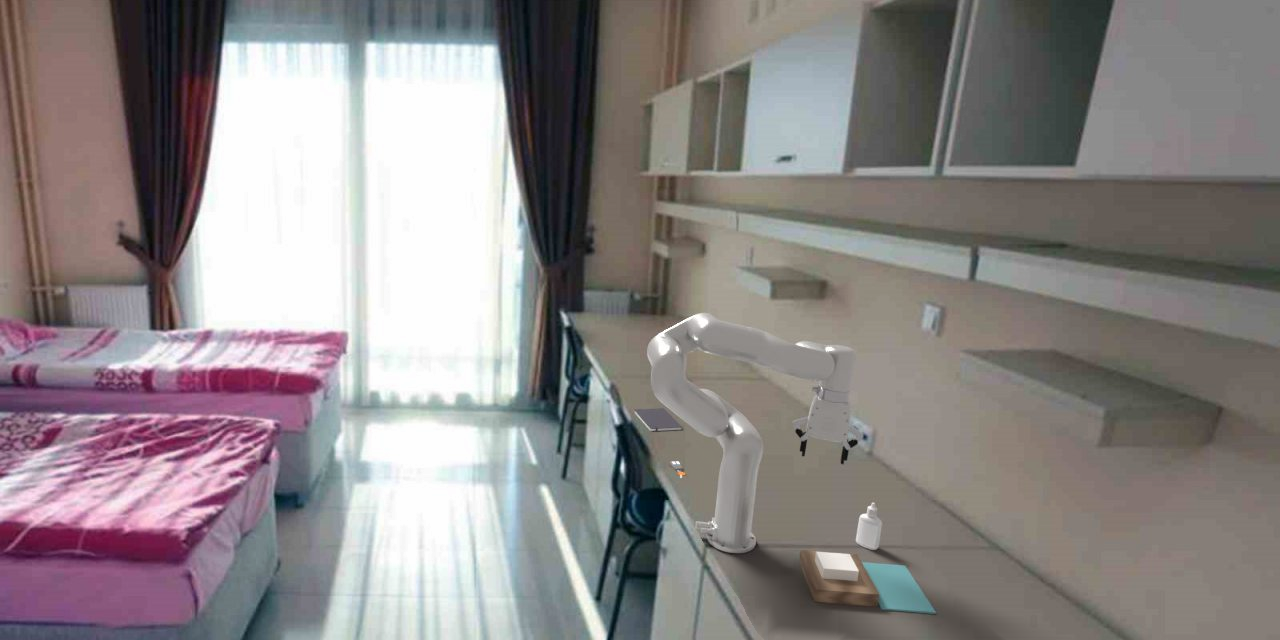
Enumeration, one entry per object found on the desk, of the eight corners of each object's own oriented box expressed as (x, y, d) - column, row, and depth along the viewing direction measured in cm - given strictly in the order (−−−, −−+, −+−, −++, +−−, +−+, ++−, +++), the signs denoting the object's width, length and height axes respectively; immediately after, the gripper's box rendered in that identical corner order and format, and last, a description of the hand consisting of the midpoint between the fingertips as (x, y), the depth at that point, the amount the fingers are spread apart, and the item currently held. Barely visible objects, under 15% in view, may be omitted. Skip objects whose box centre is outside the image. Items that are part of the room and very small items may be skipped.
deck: (814, 601, 142) (816, 589, 142) (798, 560, 158) (800, 549, 157) (877, 606, 142) (879, 594, 141) (855, 565, 158) (857, 554, 157)
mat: (881, 609, 141) (881, 607, 141) (856, 563, 159) (856, 561, 159) (935, 613, 141) (936, 612, 141) (904, 567, 158) (905, 565, 158)
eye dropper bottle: (866, 552, 164) (873, 509, 162) (853, 540, 169) (859, 498, 167) (880, 550, 166) (887, 507, 163) (866, 538, 171) (873, 497, 168)
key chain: (668, 464, 209) (668, 460, 209) (678, 464, 210) (679, 459, 210) (680, 482, 197) (680, 477, 197) (691, 481, 198) (691, 477, 198)
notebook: (682, 431, 240) (663, 411, 260) (682, 427, 240) (663, 408, 260) (650, 432, 236) (633, 412, 256) (650, 428, 236) (633, 409, 256)
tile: (822, 578, 146) (823, 568, 145) (814, 561, 153) (816, 551, 152) (857, 581, 146) (858, 571, 145) (848, 563, 153) (849, 554, 152)
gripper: (797, 392, 158) (787, 456, 162) (870, 405, 154) (858, 471, 157) (798, 384, 166) (789, 446, 169) (868, 396, 161) (857, 460, 164)
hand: (822, 458), depth 163 cm, fingers open, 9 cm apart
